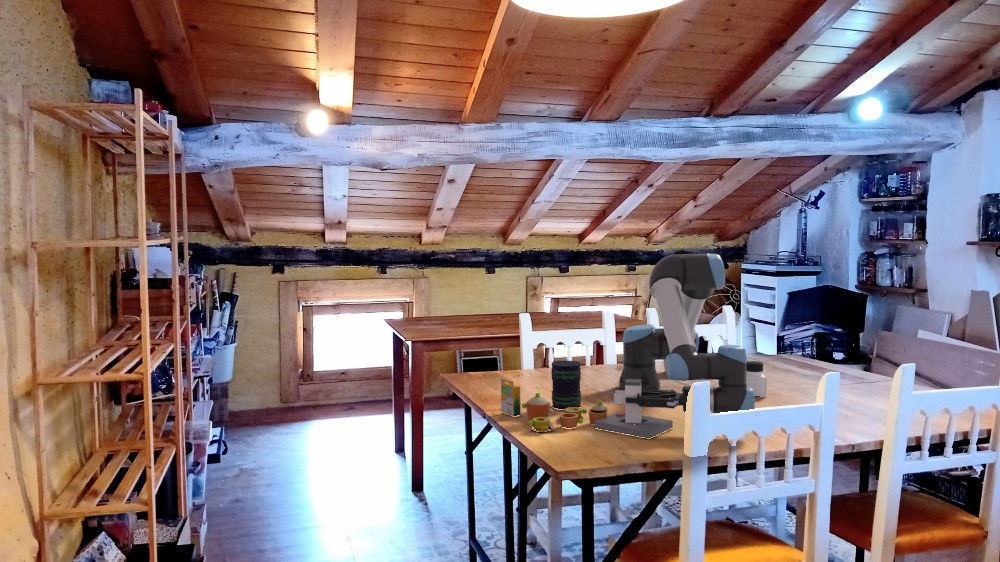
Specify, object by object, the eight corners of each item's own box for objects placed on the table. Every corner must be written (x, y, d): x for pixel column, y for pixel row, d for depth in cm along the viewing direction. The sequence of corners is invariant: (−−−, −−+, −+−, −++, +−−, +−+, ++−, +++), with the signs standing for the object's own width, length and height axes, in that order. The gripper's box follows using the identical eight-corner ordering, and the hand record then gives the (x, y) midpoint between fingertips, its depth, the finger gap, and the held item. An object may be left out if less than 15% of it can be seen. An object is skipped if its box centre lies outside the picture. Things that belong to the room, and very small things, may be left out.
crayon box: (521, 416, 219) (520, 380, 218) (513, 418, 217) (512, 381, 216) (508, 412, 225) (508, 377, 224) (501, 413, 223) (500, 378, 223)
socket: (594, 429, 202) (594, 419, 202) (619, 419, 213) (619, 409, 213) (649, 440, 191) (649, 429, 190) (672, 429, 201) (672, 418, 201)
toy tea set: (532, 436, 198) (531, 403, 197) (516, 422, 213) (515, 391, 212) (615, 427, 205) (614, 395, 204) (594, 415, 220) (594, 385, 219)
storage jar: (546, 405, 232) (546, 362, 231) (572, 402, 236) (571, 359, 235) (560, 412, 223) (560, 366, 222) (586, 408, 227) (586, 364, 226)
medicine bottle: (766, 397, 237) (766, 363, 237) (744, 397, 239) (744, 363, 238) (762, 393, 244) (762, 359, 244) (741, 392, 246) (741, 359, 245)
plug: (625, 422, 200) (625, 382, 199) (626, 418, 204) (625, 379, 203) (641, 423, 199) (640, 382, 198) (641, 419, 203) (641, 379, 202)
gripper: (698, 420, 188) (612, 416, 194) (695, 405, 205) (617, 402, 211) (698, 393, 188) (612, 390, 194) (695, 380, 205) (616, 378, 211)
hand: (615, 396), depth 202 cm, fingers closed on plug, 4 cm apart
